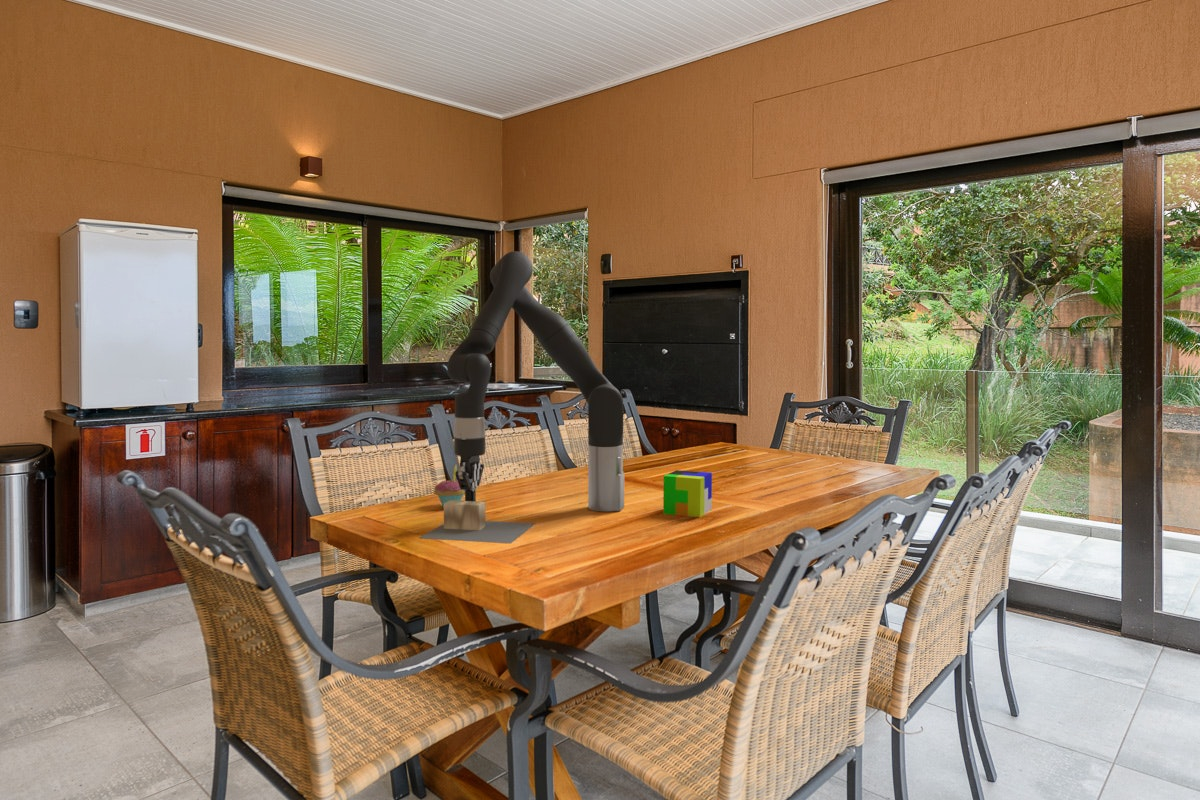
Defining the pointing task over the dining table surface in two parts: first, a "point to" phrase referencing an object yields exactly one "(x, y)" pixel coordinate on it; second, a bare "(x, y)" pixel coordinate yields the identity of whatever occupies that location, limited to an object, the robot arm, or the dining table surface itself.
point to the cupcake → (449, 490)
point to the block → (464, 515)
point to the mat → (482, 532)
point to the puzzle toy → (687, 493)
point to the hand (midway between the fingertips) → (470, 505)
